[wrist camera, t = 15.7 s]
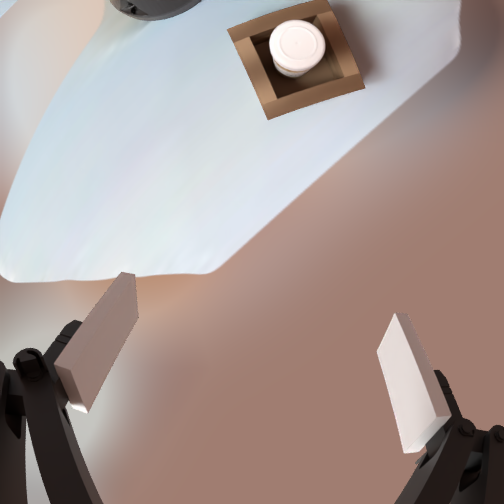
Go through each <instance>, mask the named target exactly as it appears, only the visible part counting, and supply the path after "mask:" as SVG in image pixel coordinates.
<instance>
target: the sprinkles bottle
mask: <svg viewBox="0 0 504 504" xmlns="http://www.w3.org/2000/svg"><path fill="white" fill-rule="evenodd" d="M269 45H270V51H271V54H272V56H273V65H274V68H275V70H276V71H277V72H278V73H279V74H280V75H281V76H283V77H285V78H289V79H297V78H300V77H302V76H304V75H305V74H307V72H308V71H309V70H310V69H311V68H312V67H314V66H315V65H316V64H317V63H318V62H319V61H320V60H321V59H322V57H323V55H324V52H325V40H324V37H323V35H322V33H321V32H320V30H319V29H318V28H317V27H315V26H314V25H313V24H311V23H309V22H306V21H303V20H289V21H286V22H283V23H282V24H280V25H278V26H277V27H276V28H275V29H274V31H273V32H272V34H271V37H270V42H269Z"/></svg>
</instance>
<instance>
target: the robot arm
mask: <svg viewBox="0 0 504 504" xmlns="http://www.w3.org/2000/svg"><path fill="white" fill-rule="evenodd" d="M199 1H201V0H110V2H111V3H112V5H113V6H114V7H115V8H116V9H118V10H119V11H120V12H122V13H124V14H126V15H128V16H130V17H132V18H135V19H139V20H145V21H155V20H162V19H167V18H170V17H174V16H176V15H179V14H181V13H183V12H185V11H187V10H188V9H190V8H191V7H193V6H194V5H196V4H197V3H198V2H199ZM138 318H139V317H138V306H137V295H136V281H135V274H130V273H125V272H121V273H120V274H119V276H118V277H117V278H116V280H115V281H114V282H113V283H112V285H111V286H110V287H109V288H108V290H107V291H106V292H105V294H104V295H103V296H102V298H101V299H100V300H99V302H98V303H97V304H96V305H95V307H94V308H93V309H92V311H91V312H90V313H89V315H88V316H87V317H86V319H85V320H84V321H83V322H80V321H77V320H73V321H72V322H70V323H69V324H67V325H66V326H65V327H64V328H63V330H62V331H61V332H60V335H58V336H57V338H56V339H55V341H54V342H53V343H52V344H51V346H50V347H49V348H48V350H47V351H46V353H45V354H44V355H43V356H42V354H41V352H40V351H39V350H37V349H34V348H26V349H24V350H21V351H20V352H18V353H17V354H16V355H15V357H14V359H13V365H14V367H15V369H16V370H10V369H6V367H5V365H4V363H3V362H1V361H0V504H28V503H27V490H26V472H25V471H26V469H25V439H26V418H27V423H28V427H29V432H30V436H31V440H32V445H33V448H34V452H35V456H36V460H37V463H38V466H39V470H40V473H41V477H42V480H43V483H44V486H45V489H46V492H47V495H48V498H49V501H50V503H51V504H103V502H102V500H101V498H100V496H99V494H98V492H97V489H96V487H95V485H94V483H93V480H92V478H91V476H90V473H89V471H88V469H87V466H86V464H85V461H84V459H83V456H82V454H81V451H80V448H79V445H78V443H77V440H76V437H75V434H74V431H73V428H72V425H71V422H70V419H69V416H68V413H67V410H66V408H65V406H66V404H67V402H68V401H70V403H71V406H72V408H74V409H77V410H80V411H82V412H85V413H88V412H89V410H90V408H91V406H92V404H93V402H94V400H95V398H96V396H97V395H98V393H99V391H100V389H101V386H102V385H103V383H104V381H105V379H106V377H107V375H108V373H109V371H110V369H111V367H112V366H113V364H114V362H115V360H116V358H117V356H118V354H119V352H120V351H121V348H122V347H123V345H124V343H125V341H126V339H127V338H128V336H129V334H130V332H131V330H132V329H133V327H134V325H135V323H136V322H137V319H138ZM377 354H378V358H379V361H380V364H381V367H382V371H383V374H384V378H385V381H386V385H387V388H388V392H389V396H390V399H391V403H392V407H393V410H394V414H395V418H396V422H397V426H398V430H399V434H400V438H401V443H402V447H403V451H404V453H412V452H419V451H420V450H421V449H422V448H423V446H425V445H426V449H427V452H426V453H425V454H424V455H423V456H422V457H421V458H419V459H418V460H417V462H416V464H417V463H419V464H418V466H417V468H416V469H415V471H414V473H413V475H412V476H411V478H410V480H409V481H408V483H407V485H406V486H405V488H404V489H403V491H402V493H401V494H400V496H399V497H398V499H397V500H396V502H395V504H504V427H503V426H501V425H495V426H493V427H492V428H491V429H490V430H489V431H483V430H478V429H476V427H475V426H474V424H473V423H472V422H471V421H470V420H468V419H465V418H463V417H462V415H461V412H460V410H459V407H458V405H457V403H456V400H455V399H454V395H453V394H452V391H451V389H450V388H449V384H448V381H447V379H446V377H445V376H444V375H443V374H442V373H441V371H440V370H433V368H432V366H431V364H430V361H429V359H428V357H427V354H426V352H425V350H424V348H423V346H422V343H421V341H420V339H419V337H418V335H417V333H416V331H415V329H414V327H413V324H412V322H411V320H410V318H409V316H408V314H404V313H395V314H394V316H393V318H392V320H391V323H390V325H389V327H388V329H387V331H386V333H385V335H384V338H383V340H382V342H381V344H380V346H379V348H378V350H377Z"/></svg>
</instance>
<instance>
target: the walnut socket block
mask: <svg viewBox="0 0 504 504" xmlns="http://www.w3.org/2000/svg"><path fill="white" fill-rule="evenodd" d="M289 20H303V21H306V22H309V23H311V24H313V25H314V26H315V27H317V28H318V29H319V30H320V32H321V33H322V35H323V37H324V40H325V52H324V55H323V57H322V59H321V60H320V61H319V62H318V63H317V64H316V65H315V66H314V67H312V68H311V69H310V70H309V71H308V72H307V74H305V75H304V76H302V77H300V78H297V79H289V78H285V77H283V76H281V75H280V74H279V73H278V72H277V71H276V70H275V68H274V65H273V56H272V54H271V51H270V45H269V42H270V37H271V34H272V32H273V31H274V29H275V28H276V27H277V26H278V25H280V24H282V23H283V22H286V21H289ZM227 31H228V33H229V35H230V37H231V39H232V41H233V43H234V45H235V47H236V50H237V52H238V54H239V56H240V58H241V60H242V63H243V65H244V67H245V69H246V71H247V74H248V76H249V78H250V80H251V82H252V85H253V87H254V89H255V91H256V94H257V96H258V98H259V101H260V103H261V105H262V108H263V110H264V112H265V115H266V117H267V119H268V120H270V119H273V118H275V117H278V116H281V115H284V114H286V113H289V112H292V111H295V110H298V109H300V108H303V107H306V106H309V105H312V104H315V103H318V102H321V101H325V100H328V99H331V98H334V97H337V96H341V95H344V94H347V93H351V92H354V91H357V90H361V89H364V88H365V85H364V83H363V80H362V77H361V75H360V72H359V70H358V67H357V65H356V62H355V60H354V57H353V55H352V53H351V50H350V48H349V46H348V43H347V41H346V39H345V37H344V34H343V32H342V30H341V28H340V26H339V24H338V21H337V19H336V17H335V15H334V13H333V11H332V9H331V7H330V5H329V3H328V1H327V0H313V1H309V2H306V3H302V4H299V5H295V6H292V7H288V8H285V9H282V10H279V11H276V12H273V13H270V14H267V15H264V16H261V17H258V18H255V19H253V20H250V21H247V22H245V23H242V24H239V25H237V26H234V27H232V28H229V29H227Z"/></svg>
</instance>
